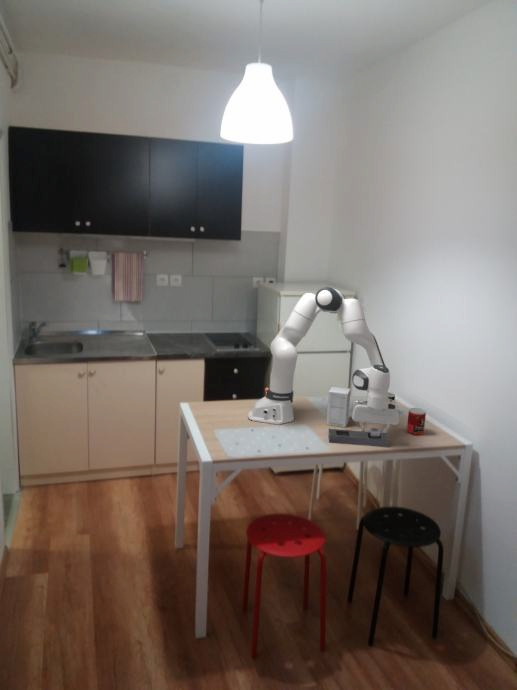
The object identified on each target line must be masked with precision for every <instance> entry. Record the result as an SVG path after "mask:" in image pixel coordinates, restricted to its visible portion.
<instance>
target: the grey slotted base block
mask: <svg viewBox="0 0 517 690" xmlns="http://www.w3.org/2000/svg"><path fill="white" fill-rule="evenodd" d="M327 434H328V435H327V436H328V437H327V438H328V443H331V444H343V445H344V444H345V445H346V444H347V445H355V446H356V445H357V446H370V447H382V448H384V447H385V448H389V446H390V438H389V436H388V433H383V432H380V437H379V438H369V431H366V430H365V431H361V430H350V429H338V428H337V429H336V428H328V433H327Z"/></svg>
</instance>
